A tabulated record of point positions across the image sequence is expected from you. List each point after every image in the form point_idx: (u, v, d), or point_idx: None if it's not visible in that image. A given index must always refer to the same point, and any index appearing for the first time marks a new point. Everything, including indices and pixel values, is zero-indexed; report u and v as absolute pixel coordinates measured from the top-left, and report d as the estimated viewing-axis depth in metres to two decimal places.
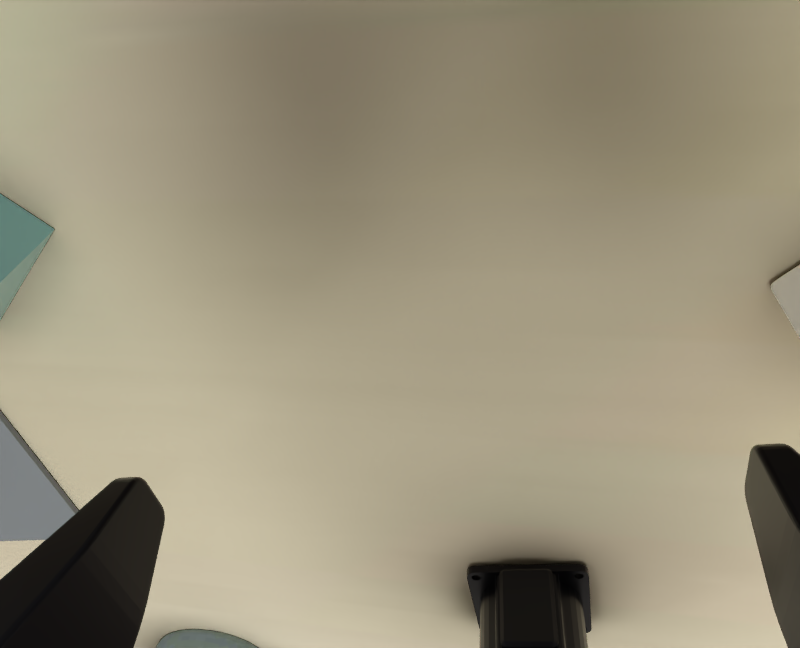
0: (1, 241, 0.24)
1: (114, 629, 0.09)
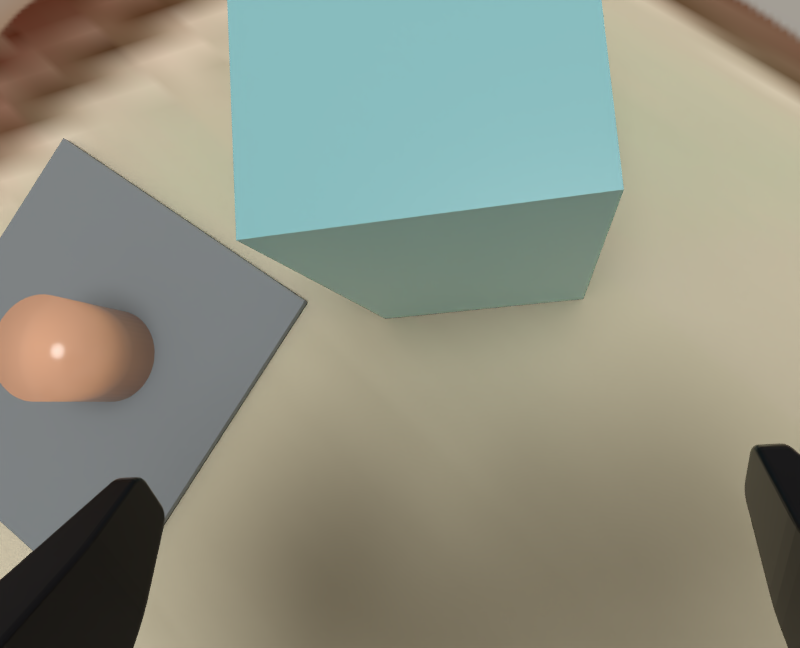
0: None
1: (114, 629, 0.09)
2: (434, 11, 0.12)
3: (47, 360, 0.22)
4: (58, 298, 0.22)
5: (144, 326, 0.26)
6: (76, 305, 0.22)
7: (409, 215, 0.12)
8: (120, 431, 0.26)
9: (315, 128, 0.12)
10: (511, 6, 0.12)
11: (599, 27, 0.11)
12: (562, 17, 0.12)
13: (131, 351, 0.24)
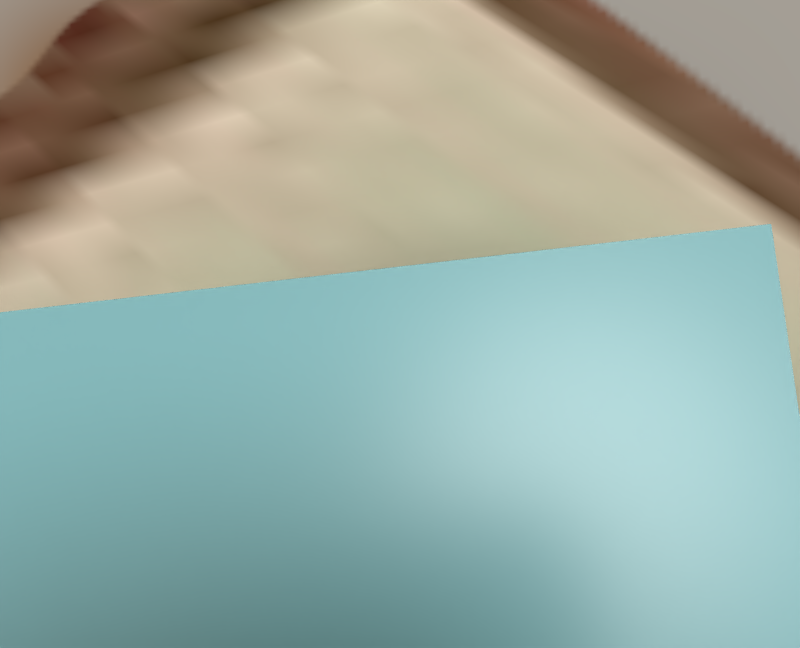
0: None
1: None
2: None
3: None
4: None
5: None
6: None
7: None
8: None
9: None
10: None
11: None
12: None
13: None
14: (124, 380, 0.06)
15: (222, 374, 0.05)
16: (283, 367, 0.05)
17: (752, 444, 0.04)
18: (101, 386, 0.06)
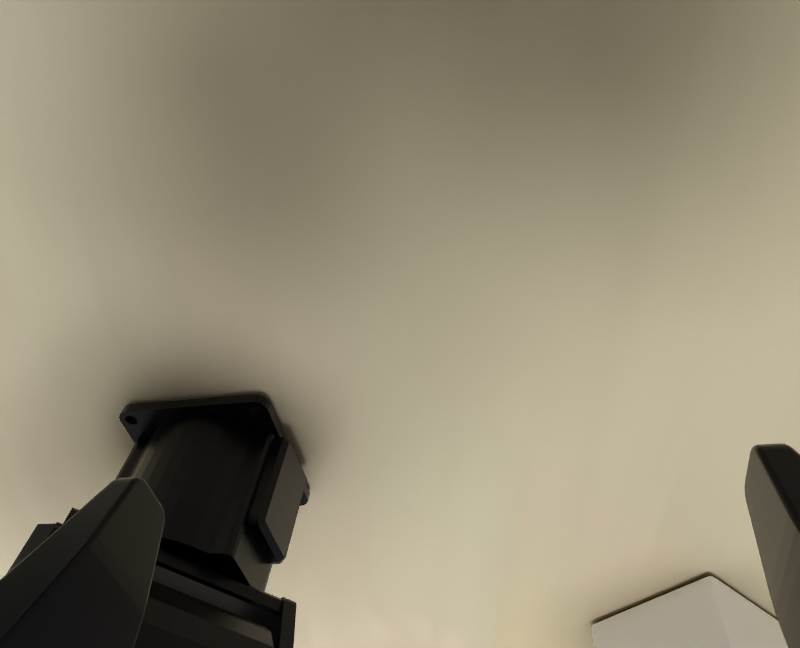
0: None
1: (114, 629, 0.09)
2: None
3: None
4: None
5: None
6: None
7: None
8: None
9: None
10: None
11: None
12: None
13: None
14: None
15: None
16: None
17: None
18: None
